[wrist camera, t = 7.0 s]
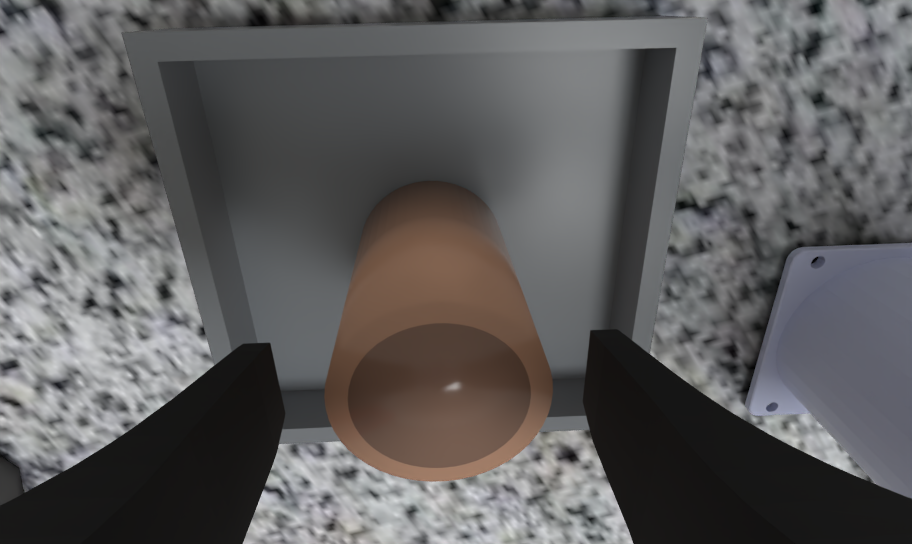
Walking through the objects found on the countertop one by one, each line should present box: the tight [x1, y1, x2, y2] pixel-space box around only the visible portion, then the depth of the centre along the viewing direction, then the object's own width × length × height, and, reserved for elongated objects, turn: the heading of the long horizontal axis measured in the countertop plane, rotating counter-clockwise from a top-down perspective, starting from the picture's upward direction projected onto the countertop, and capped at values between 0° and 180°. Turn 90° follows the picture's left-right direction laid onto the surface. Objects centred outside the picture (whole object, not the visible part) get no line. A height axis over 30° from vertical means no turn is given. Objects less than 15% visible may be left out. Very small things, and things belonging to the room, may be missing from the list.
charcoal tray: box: [122, 16, 708, 444], centre depth 18 cm, size 15×14×3 cm
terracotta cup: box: [324, 181, 553, 481], centre depth 15 cm, size 5×5×8 cm
